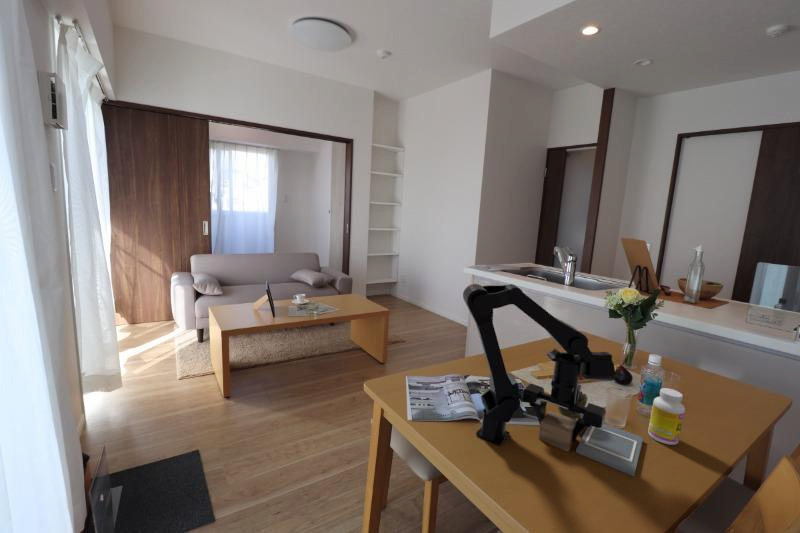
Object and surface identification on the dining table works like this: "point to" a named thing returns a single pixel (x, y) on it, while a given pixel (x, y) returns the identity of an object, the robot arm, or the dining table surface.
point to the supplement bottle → (667, 417)
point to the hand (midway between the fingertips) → (557, 435)
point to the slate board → (611, 447)
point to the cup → (581, 402)
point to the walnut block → (557, 430)
